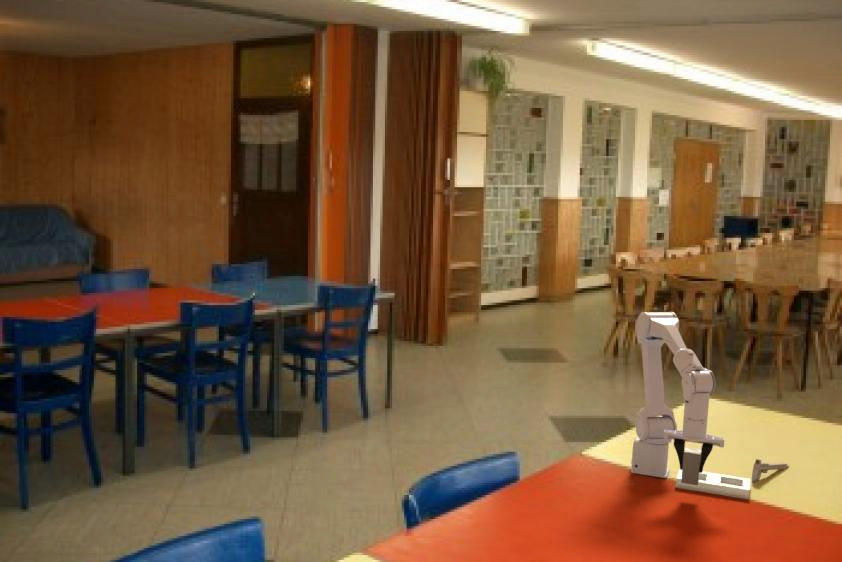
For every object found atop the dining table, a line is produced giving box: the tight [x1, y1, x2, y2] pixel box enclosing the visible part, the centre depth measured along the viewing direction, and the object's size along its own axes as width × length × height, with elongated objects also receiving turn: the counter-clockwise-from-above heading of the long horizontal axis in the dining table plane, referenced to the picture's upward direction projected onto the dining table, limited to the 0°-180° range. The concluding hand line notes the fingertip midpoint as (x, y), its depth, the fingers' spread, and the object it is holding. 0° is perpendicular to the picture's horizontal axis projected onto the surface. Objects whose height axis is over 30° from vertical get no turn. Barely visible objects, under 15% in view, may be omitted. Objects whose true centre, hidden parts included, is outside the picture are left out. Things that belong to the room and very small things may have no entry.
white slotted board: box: [675, 468, 752, 500], centre depth 231 cm, size 18×9×2 cm, turn 68°
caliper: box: [751, 458, 790, 483], centre depth 243 cm, size 20×1×6 cm, turn 133°
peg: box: [681, 446, 702, 485], centre depth 222 cm, size 4×4×8 cm
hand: (691, 470), depth 222 cm, fingers closed on peg, 4 cm apart
